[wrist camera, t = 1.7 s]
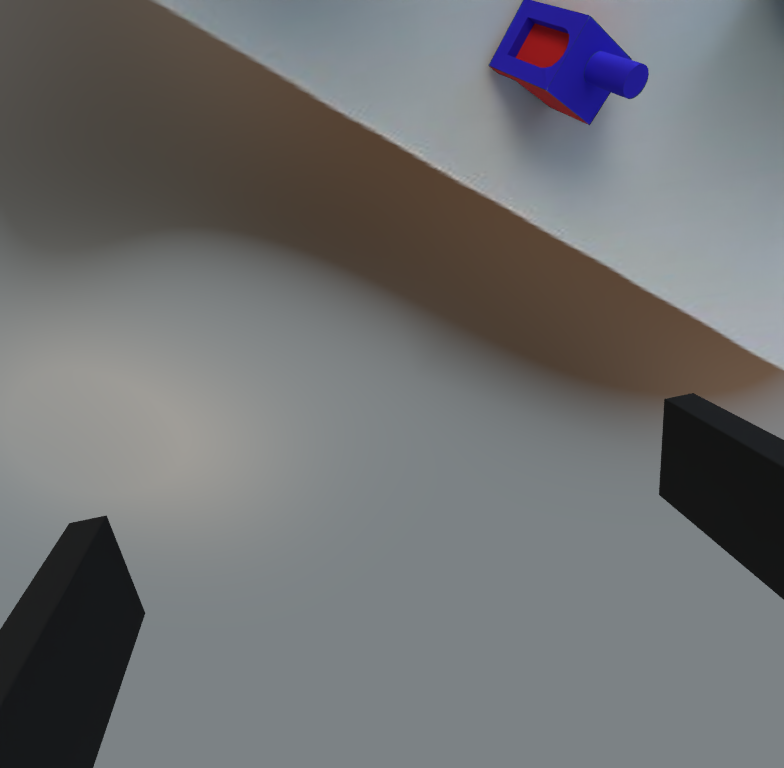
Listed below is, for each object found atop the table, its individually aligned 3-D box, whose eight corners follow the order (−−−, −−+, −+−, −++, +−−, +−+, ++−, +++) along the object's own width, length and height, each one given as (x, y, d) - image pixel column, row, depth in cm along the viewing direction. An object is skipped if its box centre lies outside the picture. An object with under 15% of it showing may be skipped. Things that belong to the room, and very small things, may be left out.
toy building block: (531, 99, 33) (626, 141, 28) (488, 65, 31) (583, 106, 25) (566, 38, 32) (673, 72, 27) (523, -2, 29) (632, 26, 24)
